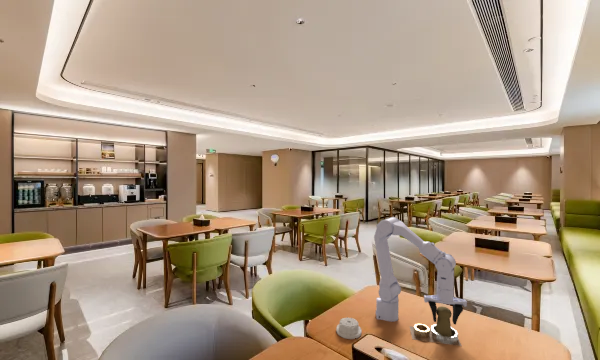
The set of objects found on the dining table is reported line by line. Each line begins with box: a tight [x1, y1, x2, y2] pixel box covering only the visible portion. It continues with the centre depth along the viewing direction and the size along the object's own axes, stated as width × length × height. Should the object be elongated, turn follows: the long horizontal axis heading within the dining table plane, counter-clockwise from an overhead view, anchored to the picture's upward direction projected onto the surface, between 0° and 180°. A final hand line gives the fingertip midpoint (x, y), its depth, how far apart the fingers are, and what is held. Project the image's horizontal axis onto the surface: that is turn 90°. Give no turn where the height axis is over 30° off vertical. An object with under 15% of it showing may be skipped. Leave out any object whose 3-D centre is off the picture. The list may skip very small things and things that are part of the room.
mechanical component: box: [335, 316, 362, 340], centre depth 115 cm, size 10×4×10 cm
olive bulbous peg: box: [435, 306, 453, 337], centre depth 110 cm, size 6×6×11 cm
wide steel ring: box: [430, 323, 459, 346], centre depth 110 cm, size 9×9×2 cm
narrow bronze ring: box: [413, 323, 431, 338], centre depth 112 cm, size 6×6×2 cm
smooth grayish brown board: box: [408, 325, 462, 347], centre depth 111 cm, size 17×9×1 cm, turn 76°
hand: (444, 321), depth 110 cm, fingers open, 6 cm apart
